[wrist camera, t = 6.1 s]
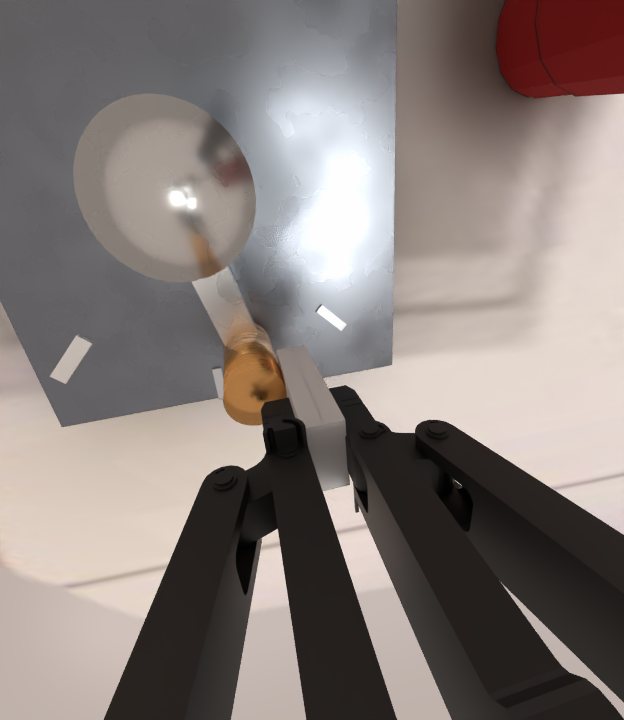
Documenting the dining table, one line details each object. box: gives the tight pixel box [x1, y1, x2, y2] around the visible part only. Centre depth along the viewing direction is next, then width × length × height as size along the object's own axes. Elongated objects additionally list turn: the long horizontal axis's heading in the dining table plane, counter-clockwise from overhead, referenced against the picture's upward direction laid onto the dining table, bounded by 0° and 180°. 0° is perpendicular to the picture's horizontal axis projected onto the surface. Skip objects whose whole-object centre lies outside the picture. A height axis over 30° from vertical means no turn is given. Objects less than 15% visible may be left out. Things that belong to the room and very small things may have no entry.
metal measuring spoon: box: [73, 93, 287, 425], centre depth 15 cm, size 13×7×6 cm, turn 20°
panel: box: [0, 0, 397, 427], centre depth 17 cm, size 22×20×2 cm
